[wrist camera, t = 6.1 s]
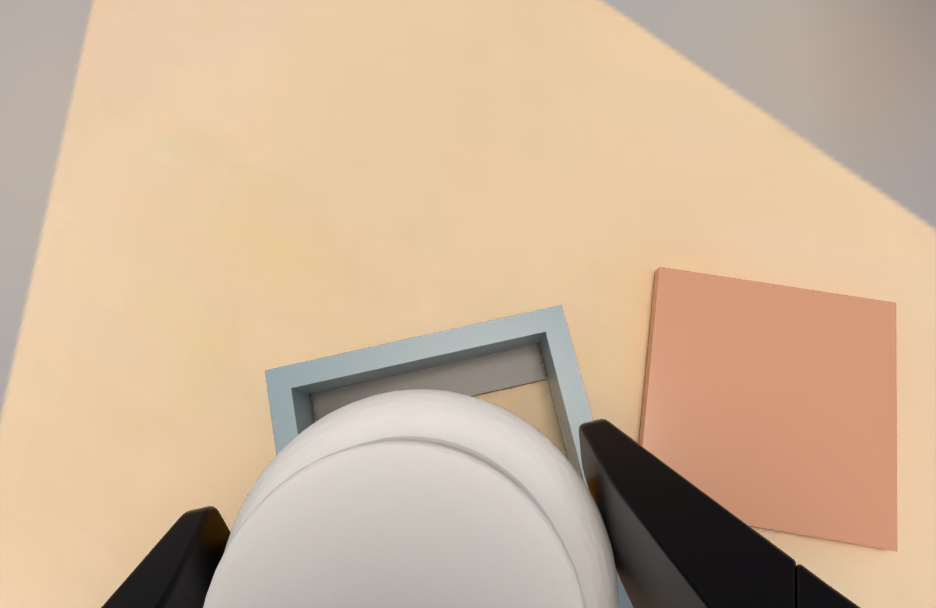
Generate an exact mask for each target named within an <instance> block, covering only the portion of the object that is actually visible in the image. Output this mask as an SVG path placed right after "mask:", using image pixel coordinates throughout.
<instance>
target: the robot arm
mask: <svg viewBox="0 0 936 608" xmlns="http://www.w3.org/2000/svg"><path fill="white" fill-rule="evenodd" d="M579 440H580V451H581V462H582V468H583V472H584V475H585V479H586V482H587V485H588V488H589V491H590V493H591V495H592V497H593V499H594V501H595V503H596V505H597V507H598V509H599V511H600V514H601V516H602V519H603V522H604V524H605V527H606V530H607V533H608V536H609V539H610V542H611V546H612V551H613V555H614V562H615V568H616V570H617V573H618V575H619V577H620V580H621V582H622V584H623V586H624V588H625V591H626V593H627V595H628V597H629V599H630V601H631V604H632V606H633V608H860V607H859V606H857V605H856V604H854V603H853V602H852V601H850V600H849V599H847V598H846V597H845V596H843V595H842V594H840V593H839V592H838V591H836V590H835V589H833V588H832V587H831V586H829V585H828V584H826V583H825V582H824V581H822V580H821V579H820V578H818V577H817V576H816V575H814V574H813V573H812V572H810V571H809V570H808V569H806V568H805V567H804V566H802V565H800V564H799V565H797V566H796V562H795V560H794V559H793V558H791V557H790V556H788V555H787V554H786V553H784V552H783V551H782V550H780V549H779V548H778V547H776V546H775V545H774V544H772V543H771V542H770V541H768V540H767V539H766V538H764V537H763V536H762V535H760V534H759V533H758V532H756V531H755V530H754V529H752V528H751V527H750V526H748V525H747V524H746V523H744V522H743V521H742V520H740V519H739V518H738V517H736V516H735V515H733V514H732V513H731V512H729V511H728V510H727V509H725V508H724V507H723V506H721V505H720V504H719V503H717V502H716V501H715V500H713V499H712V498H711V497H709V496H708V495H707V494H705V493H704V492H703V491H701V490H700V489H699V488H697V487H696V486H695V485H693V484H692V483H691V482H689V481H688V480H687V479H685V478H684V477H683V476H681V475H680V474H678V473H677V472H676V471H674V470H673V469H672V468H670V467H669V466H668V465H666V464H665V463H664V462H662V461H661V460H660V459H658V458H657V457H656V456H654V455H653V454H652V453H650V452H649V451H648V450H646V449H645V448H644V447H642V446H641V445H640V444H638V443H637V442H636V441H634V440H633V439H632V438H630V437H629V436H628V435H626V434H625V433H624V432H622V431H621V430H619V429H618V428H617V427H615V426H614V425H613V424H611V423H610V422H609V421H607V420H605V419H599V420H595V421H590V422H586V423H582V424H581V425H580V426H579ZM230 533H231V532H230V531H229V529H228V527H227V525H226V523H225V522H224V520H223V518H222V516H221V515H220V513H219V511H218V510H217V509H216V508H215V507H212V506H208V507H204V508H199V509H195V510H190V511H188V512H186V513H184V514H183V515H182V516H181V517H180V518H179V519H178V520H177V522H176V523H175V524H174V525H173V526H172V527H171V528H170V530H169V531H168V532H167V533H166V534H165V535H164V536H163V538H162V539H161V540H160V541H159V542H158V543H157V544H156V546H155V547H154V548H153V549H152V550H151V551H150V552H149V554H148V555H147V556H146V557H145V558H144V559H143V561H142V562H141V563H140V564H139V565H138V566H137V567H136V569H135V570H134V571H133V572H132V573H131V574H130V575H129V577H128V578H127V579H126V580H125V581H124V582H123V583H122V585H121V586H120V587H119V588H118V589H117V590H116V591H115V593H114V594H113V595H112V596H111V597H110V598H109V599H108V601H107V602H106V603H105V604H104V605H103V606H102V607H101V608H203V606H204V602H205V598H206V595H207V592H208V589H209V587H210V584H211V581H212V578H213V576H214V573H215V570H216V568H217V566H218V564H219V562H220V560H221V558H222V556H223V554H224V551H225V547H226V544H227V542H228V539H229V536H230Z"/></svg>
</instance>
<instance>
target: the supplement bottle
mask: <svg viewBox="0 0 936 608" xmlns="http://www.w3.org/2000/svg"><path fill="white" fill-rule="evenodd" d="M203 608H618V584H617V573H616V568H615V562H614V555H613V551H612V546H611V542H610V539H609V536H608V533H607V530H606V527H605V524H604V522H603V519H602V516H601V514H600V511H599V509H598V507H597V505H596V503H595V501H594V499H593V497H592V495H591V493H590V491H589V489H588V487H587V486H586V484H585V483H584V481H583V480H582V478H581V477H580V475H579V474H578V472H577V471H576V470H575V468H574V467H573V465H572V464H571V463H570V461H569V460H568V459H567V458H566V457H565V456H564V454H563V453H562V452H561V451H560V450H559V449H558V448H557V447H556V446H555V445H554V444H553V443H552V442H551V441H550V440H549V439H548V438H547V437H546V436H544V435H543V434H542V433H541V432H540V431H538V430H537V429H536V428H534V427H533V426H532V425H531V424H529V423H528V422H526V421H525V420H523V419H521V418H520V417H518V416H517V415H515V414H513V413H512V412H509V411H507V410H505V409H503V408H501V407H499V406H497V405H495V404H493V403H490V402H487V401H484V400H481V399H478V398H475V397H471V396H468V395H464V394H459V393H455V392H450V391H444V390H430V389H410V390H399V391H392V392H387V393H382V394H377V395H373V396H370V397H367V398H364V399H361V400H358V401H356V402H353V403H350V404H348V405H346V406H343V407H341V408H339V409H337V410H335V411H333V412H331V413H329V414H327V415H326V416H324V417H323V418H321V419H319V420H318V421H316V422H315V423H313V424H312V425H311V426H309V427H308V428H306V429H305V430H304V431H302V432H301V433H300V434H298V435H297V436H296V437H295V438H294V439H293V440H292V441H291V442H290V443H288V444H287V445H286V446H285V447H284V448H283V449H282V450H281V451H280V452H279V453H278V454H277V455H276V456H275V458H274V459H273V460H272V461H271V462H270V464H269V465H268V466H267V467H266V468H265V469H264V471H263V472H262V474H261V475H260V477H259V478H258V480H257V481H256V483H255V484H254V486H253V487H252V489H251V491H250V492H249V494H248V496H247V497H246V499H245V501H244V503H243V505H242V507H241V509H240V512H239V514H238V516H237V518H236V520H235V522H234V525H233V528H232V530H231V533H230V536H229V539H228V542H227V544H226V547H225V551H224V554H223V556H222V558H221V560H220V562H219V564H218V566H217V568H216V570H215V573H214V576H213V578H212V581H211V584H210V587H209V589H208V592H207V595H206V598H205V602H204V606H203Z"/></svg>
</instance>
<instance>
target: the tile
mask: <svg viewBox="0 0 936 608" xmlns="http://www.w3.org/2000/svg"><path fill="white" fill-rule="evenodd" d="M639 444H640V445H641V446H642V447H644V448H645V449H646V450H648V451H649V452H650V453H652V454H653V455H654V456H656V457H657V458H658V459H660V460H661V461H662V462H664V463H665V464H666V465H668V466H669V467H670V468H672V469H673V470H674V471H676V472H677V473H678V474H680V475H681V476H683V477H684V478H685V479H687V480H688V481H689V482H691V483H692V484H693V485H695V486H696V487H697V488H699V489H700V490H701V491H703V492H704V493H705V494H707V495H708V496H709V497H711V498H712V499H713V500H715V501H716V502H717V503H719V504H720V505H721V506H723V507H724V508H725V509H727V510H728V511H729V512H731V513H732V514H733V515H735V516H736V517H738V518H739V519H740V520H742V521H743V522H744V523H746V524H747V525H748V526H754V527H760V528H766V529H771V530H777V531H783V532H788V533H794V534H800V535H806V536H811V537H817V538H823V539H829V540H834V541H840V542H846V543H851V544H857V545H863V546H869V547H874V548H880V549H886V550H891V551H897V387H896V303H894V302H887V301H880V300H874V299H867V298H861V297H854V296H848V295H841V294H834V293H828V292H821V291H815V290H808V289H801V288H795V287H788V286H782V285H775V284H769V283H762V282H755V281H749V280H742V279H736V278H729V277H722V276H716V275H709V274H703V273H696V272H690V271H683V270H676V269H670V268H663V267H659V268H658V269H657V270H656V271H655V279H654V289H653V299H652V310H651V320H650V331H649V341H648V352H647V362H646V372H645V383H644V393H643V404H642V414H641V425H640V435H639Z"/></svg>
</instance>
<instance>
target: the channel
mask: <svg viewBox="0 0 936 608" xmlns="http://www.w3.org/2000/svg"><path fill="white" fill-rule="evenodd" d="M537 344H539V348H540V352H541V356H542V360H543V364H544V368H545V372H546V376H547V380H548V383H549V387H550V391H551V395H552V399H553V403H554V407H555V411H556V415H557V419H558V423H559V427H560V431H561V435H562V439H563V442H564V446H565V450H566V454H567V458H568V460H569V461H570V463H571V464H572V465H573V467H574V468H575V470H576V471H577V472H578V474H579V475H580V477H581V478H582V480H583V481H584V483H585V484H586V486H587V487H588V485H587V482H586V479H585V475H584V472H583V468H582V462H581V451H580V440H579V426H580V425H581V424H582V423H586V422H590V421H593V419H592V415H591V411H590V407H589V404H588V400H587V396H586V393H585V389H584V385H583V381H582V378H581V374H580V370H579V366H578V363H577V359H576V355H575V352H574V348H573V344H572V340H571V337H570V333H569V329H568V326H567V322H566V318H565V314H564V311H563V307H562V305H560V306H555V307H550V308H546V309H541V310H537V311H532V312H528V313H523V314H519V315H514V316H510V317H505V318H501V319H496V320H492V321H487V322H482V323H478V324H473V325H469V326H464V327H460V328H455V329H451V330H446V331H442V332H437V333H433V334H428V335H424V336H419V337H415V338H410V339H405V340H401V341H396V342H392V343H387V344H383V345H378V346H374V347H369V348H365V349H360V350H356V351H351V352H347V353H342V354H337V355H333V356H328V357H324V358H319V359H315V360H310V361H306V362H301V363H297V364H292V365H288V366H283V367H279V368H274V369H270V370H265V375H266V382H267V390H268V397H269V404H270V411H271V419H272V426H273V433H274V440H275V447H276V455H277V454H278V453H279V452H280V451H281V450H282V449H283V448H284V447H285V446H286V445H287V444H288V443H290V442H291V441H292V440H293V439H294V438H295V437H296V436H297V435H298V434H300V433H301V432H302V431H304V430H305V429H306V428H308V427H309V426H311V425H312V424H313V423H315V420H316V421H318V420H319V419H321V418H323V417H324V416H326V415H327V414H329V413H331V412H333V411H335V410H337V409H339V408H341V407H343V406H346V405H348V404H350V403H353V402H356V401H358V400H361V399H364V398H367V397H370V396H373V395H377V394H382V393H387V392H392V391H399V390H410V389H430V390H444V391H450V392H455V393H459V394H464V395H468V396H475V395H480V394H484V393H488V392H493V391H497V390H502V389H506V388H511V387H515V386H519V385H524V384H528V383H533V382H537V381H542V380H545V379H546V378H545V374H544V370H543V366H542V362H541V358H540V354H539V350H538V346H537ZM311 395H312V398H311ZM312 401H313V405H312ZM313 407H314V411H313ZM314 413H315V418H314ZM588 489H589V488H588ZM616 573H617V570H616ZM617 584H618V608H633V606H632V604H631V601H630V599H629V597H628V595H627V593H626V591H625V588H624V586H623V584H622V582H621V580H620V577H619V575H618V573H617Z"/></svg>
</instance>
